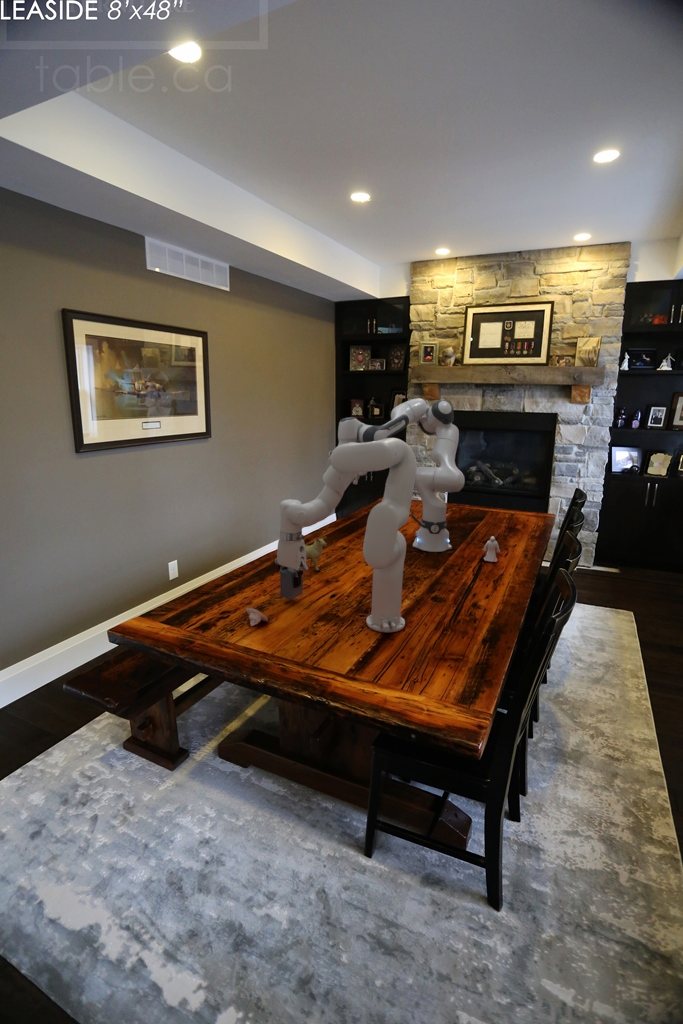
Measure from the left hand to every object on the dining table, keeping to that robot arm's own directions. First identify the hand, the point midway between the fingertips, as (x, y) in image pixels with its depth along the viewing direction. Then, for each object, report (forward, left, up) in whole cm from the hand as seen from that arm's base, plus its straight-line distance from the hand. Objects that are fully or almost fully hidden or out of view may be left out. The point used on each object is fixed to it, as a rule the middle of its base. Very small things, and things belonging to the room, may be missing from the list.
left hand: (291, 584), depth 177 cm
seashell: (-17, +11, -7) cm, 21 cm away
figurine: (+41, -89, -7) cm, 98 cm away
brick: (0, 0, -4) cm, 4 cm away
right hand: (+62, -25, +25) cm, 71 cm away
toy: (+32, -6, -7) cm, 34 cm away
